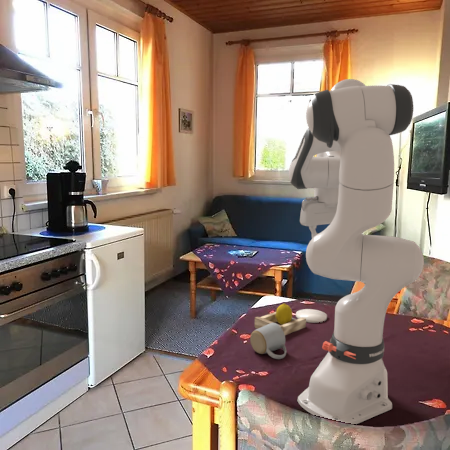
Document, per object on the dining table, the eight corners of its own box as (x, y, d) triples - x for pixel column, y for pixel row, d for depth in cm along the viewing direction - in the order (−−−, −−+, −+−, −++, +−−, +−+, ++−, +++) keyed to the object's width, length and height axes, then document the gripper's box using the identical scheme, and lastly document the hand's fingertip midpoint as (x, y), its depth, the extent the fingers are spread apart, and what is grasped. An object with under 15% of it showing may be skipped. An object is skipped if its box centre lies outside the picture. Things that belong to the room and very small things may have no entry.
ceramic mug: (247, 349, 126) (248, 325, 125) (267, 342, 131) (268, 319, 130) (273, 363, 118) (274, 337, 116) (293, 355, 123) (294, 330, 121)
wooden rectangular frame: (279, 337, 135) (279, 327, 134) (254, 327, 143) (254, 317, 142) (307, 326, 144) (307, 316, 144) (282, 317, 152) (282, 308, 152)
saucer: (314, 325, 145) (314, 322, 145) (289, 316, 153) (289, 313, 153) (333, 317, 152) (333, 315, 152) (308, 309, 160) (308, 307, 160)
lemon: (292, 329, 142) (293, 306, 140) (276, 329, 142) (276, 306, 140) (290, 323, 147) (291, 300, 146) (274, 322, 147) (275, 300, 146)
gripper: (308, 198, 132) (307, 241, 134) (357, 195, 141) (355, 235, 144) (296, 196, 137) (295, 238, 140) (343, 193, 147) (341, 232, 149)
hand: (325, 236), depth 142 cm, fingers open, 8 cm apart
